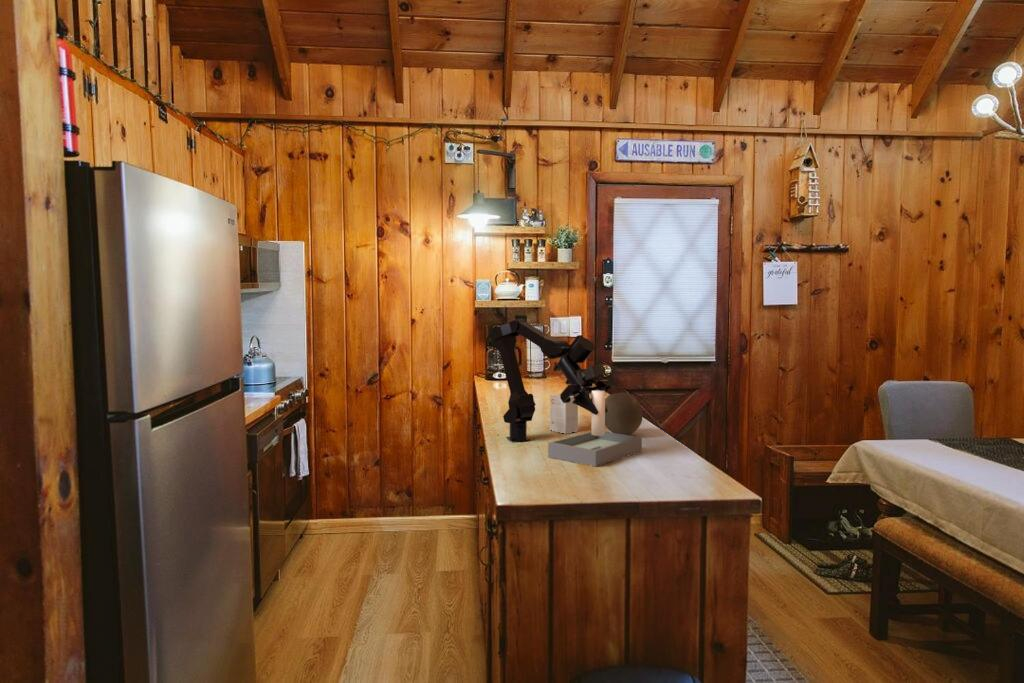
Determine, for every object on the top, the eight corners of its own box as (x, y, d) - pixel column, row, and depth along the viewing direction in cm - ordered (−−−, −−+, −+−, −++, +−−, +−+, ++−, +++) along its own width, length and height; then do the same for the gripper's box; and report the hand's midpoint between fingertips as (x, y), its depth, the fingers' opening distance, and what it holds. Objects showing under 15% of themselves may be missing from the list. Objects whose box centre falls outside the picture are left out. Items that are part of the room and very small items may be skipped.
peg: (589, 434, 195) (589, 391, 194) (594, 432, 198) (595, 389, 197) (601, 436, 192) (601, 392, 192) (607, 433, 196) (607, 390, 195)
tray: (548, 457, 195) (548, 442, 195) (596, 443, 214) (596, 430, 214) (595, 466, 184) (595, 451, 184) (641, 451, 203) (641, 437, 202)
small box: (578, 432, 233) (578, 395, 232) (565, 434, 229) (565, 397, 228) (562, 428, 239) (562, 393, 238) (549, 431, 235) (549, 395, 234)
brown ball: (609, 430, 236) (610, 389, 235) (647, 434, 229) (648, 391, 228) (594, 437, 224) (594, 393, 223) (633, 441, 217) (634, 396, 216)
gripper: (567, 357, 190) (597, 399, 183) (607, 353, 203) (636, 392, 196) (547, 381, 196) (575, 423, 189) (587, 376, 209) (615, 415, 202)
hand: (601, 413), depth 194 cm, fingers closed on peg, 4 cm apart
